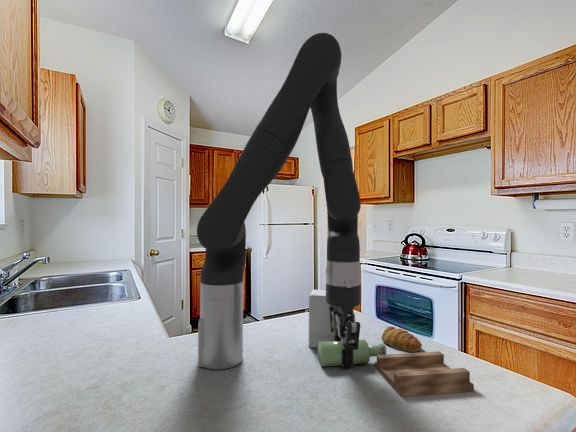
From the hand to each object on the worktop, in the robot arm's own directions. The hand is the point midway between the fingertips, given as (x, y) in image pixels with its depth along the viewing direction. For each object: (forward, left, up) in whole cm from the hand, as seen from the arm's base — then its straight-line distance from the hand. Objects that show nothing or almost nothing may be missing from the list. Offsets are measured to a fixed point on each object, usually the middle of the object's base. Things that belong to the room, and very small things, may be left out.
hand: (343, 360), depth 66 cm
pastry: (+18, +9, -1) cm, 20 cm away
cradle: (+13, -8, -1) cm, 15 cm away
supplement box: (-1, +12, -1) cm, 12 cm away
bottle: (+2, 0, -1) cm, 2 cm away
